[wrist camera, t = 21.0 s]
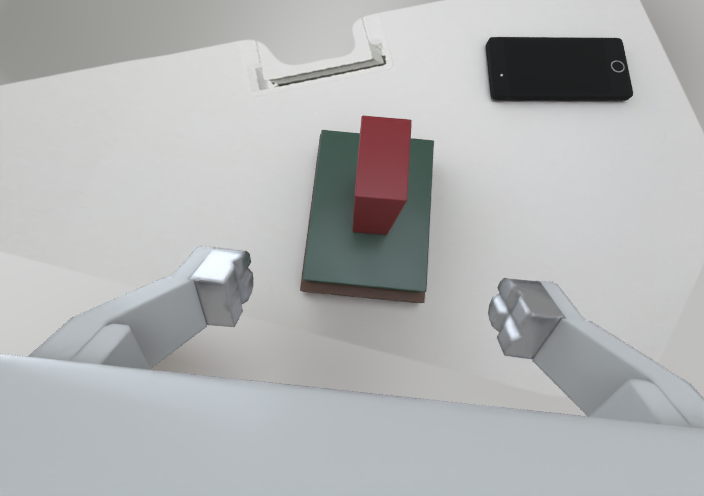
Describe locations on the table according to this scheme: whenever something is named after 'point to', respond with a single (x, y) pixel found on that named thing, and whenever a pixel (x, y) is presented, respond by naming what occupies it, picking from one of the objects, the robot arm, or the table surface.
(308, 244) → the book pile
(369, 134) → the upright red rectangular block
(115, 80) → the table surface
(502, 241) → the table surface
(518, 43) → the cell phone
